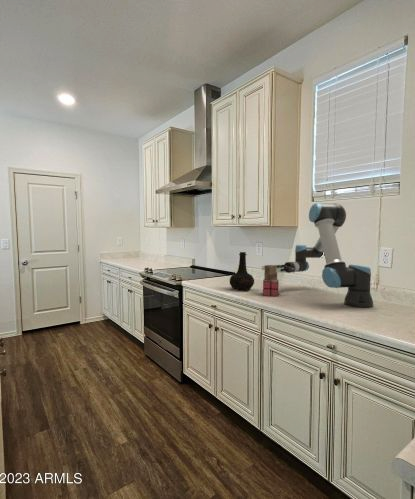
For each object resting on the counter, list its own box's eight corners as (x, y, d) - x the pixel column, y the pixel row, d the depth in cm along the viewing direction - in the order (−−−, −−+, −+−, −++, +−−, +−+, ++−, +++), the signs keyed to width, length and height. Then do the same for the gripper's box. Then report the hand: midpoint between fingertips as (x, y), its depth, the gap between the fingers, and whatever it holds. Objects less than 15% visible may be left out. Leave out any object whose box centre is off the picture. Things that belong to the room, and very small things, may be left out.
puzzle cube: (278, 296, 197) (278, 281, 196) (263, 296, 199) (263, 281, 198) (278, 293, 207) (278, 279, 206) (263, 293, 209) (263, 278, 208)
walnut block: (277, 280, 201) (277, 265, 201) (270, 281, 198) (270, 266, 198) (271, 279, 206) (271, 264, 206) (264, 280, 203) (264, 265, 203)
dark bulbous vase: (224, 289, 220) (224, 252, 219) (239, 286, 233) (240, 250, 231) (243, 293, 208) (244, 253, 206) (258, 289, 220) (259, 252, 219)
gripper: (305, 274, 202) (282, 277, 191) (278, 270, 223) (256, 272, 212) (305, 263, 201) (283, 265, 190) (278, 260, 223) (256, 262, 211)
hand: (269, 269), depth 201 cm, fingers open, 13 cm apart
